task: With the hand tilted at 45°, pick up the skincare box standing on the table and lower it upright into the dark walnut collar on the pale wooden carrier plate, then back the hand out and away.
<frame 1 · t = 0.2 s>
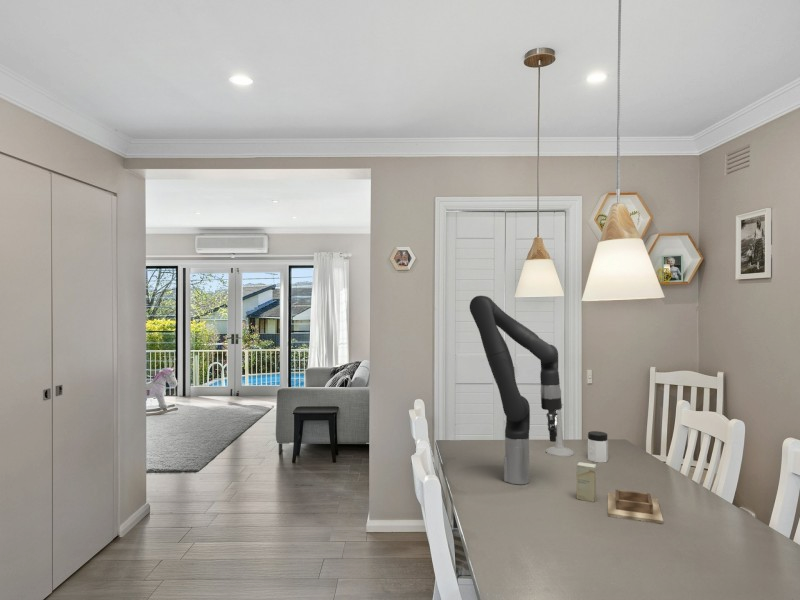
hand: (553, 438, 195), 18 cm above the table, tool pointing down, fingers open, 8 cm apart
candlestick: (559, 453, 239), on the table
skincare box: (586, 499, 180), on the table
carrier plate: (633, 508, 171), on the table
jar: (597, 460, 227), on the table
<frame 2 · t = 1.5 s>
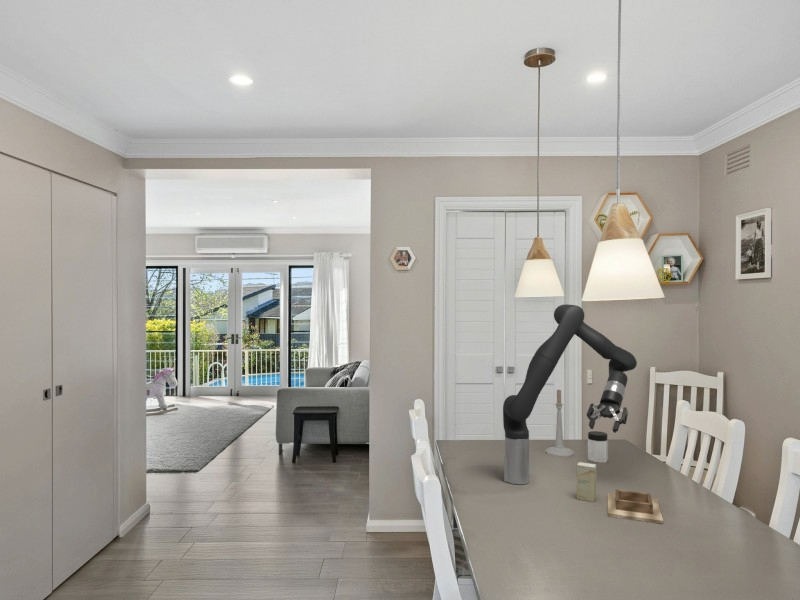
hand: (602, 429, 190), 22 cm above the table, tool tilted 45°, fingers open, 8 cm apart
nothing on the table moved.
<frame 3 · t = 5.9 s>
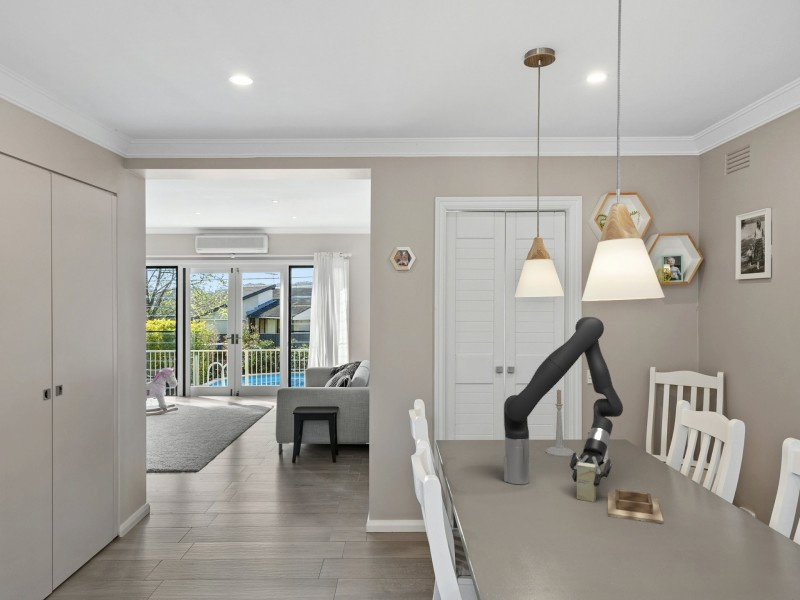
hand: (584, 482, 179), 6 cm above the table, tool tilted 45°, fingers closed on skincare box, 7 cm apart
skincare box: (586, 499, 180), on the table, touching gripper
everything else where it was.
when the fingers open (8 cm above the table, at t = 11.7 s): skincare box drops 1 cm, resting on carrier plate.
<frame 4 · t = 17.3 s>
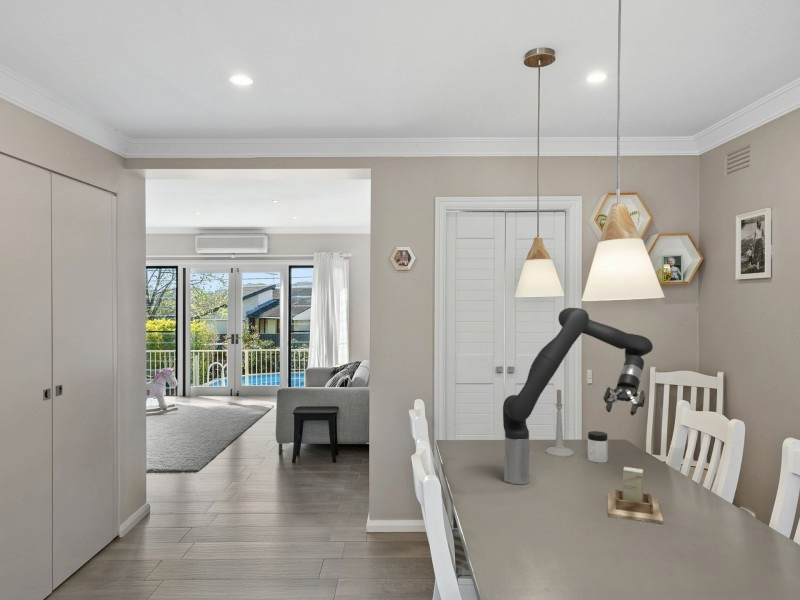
hand: (619, 412, 190), 29 cm above the table, tool tilted 45°, fingers open, 8 cm apart
skincare box: (633, 506, 171), point 1 cm above the table, touching carrier plate
everything else where it was.
at the end: skincare box 0.2 cm off-centre on the carrier plate, point 0.8 cm above the carrier plate's base; skincare box tilted 0°; the gripper is holding nothing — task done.
